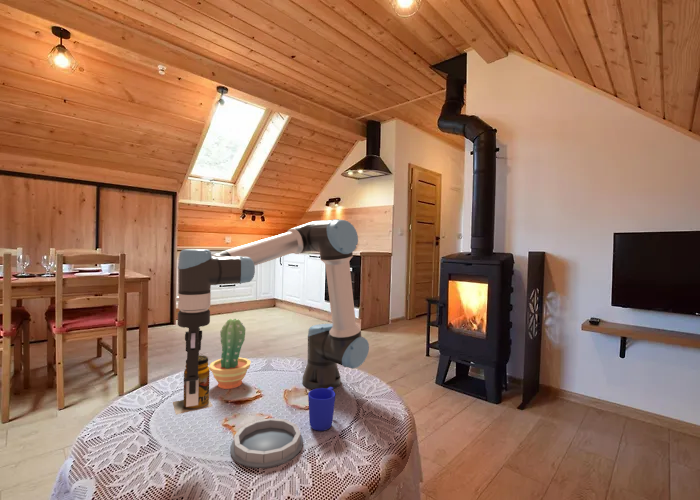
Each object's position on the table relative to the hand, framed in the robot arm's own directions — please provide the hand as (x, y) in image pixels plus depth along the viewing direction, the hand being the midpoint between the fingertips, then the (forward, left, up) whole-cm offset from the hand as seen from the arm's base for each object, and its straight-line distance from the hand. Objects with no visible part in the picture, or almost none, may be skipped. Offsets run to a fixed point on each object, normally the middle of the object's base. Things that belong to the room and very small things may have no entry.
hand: (192, 399), depth 88 cm
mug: (-37, -4, -15) cm, 40 cm away
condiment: (0, 0, -2) cm, 2 cm away
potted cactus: (-12, -44, -15) cm, 48 cm away
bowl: (-19, +2, -15) cm, 24 cm away
